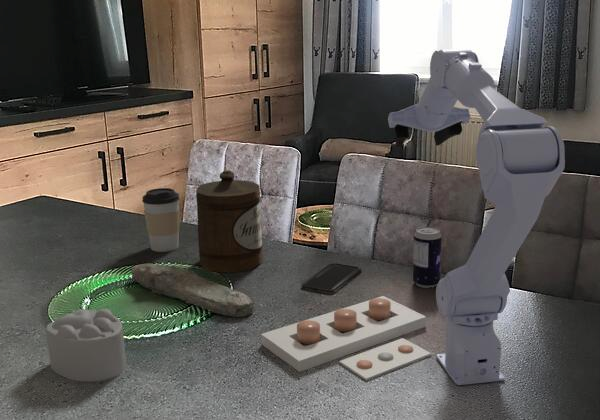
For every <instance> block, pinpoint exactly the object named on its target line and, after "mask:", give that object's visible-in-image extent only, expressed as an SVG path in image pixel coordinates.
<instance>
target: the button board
mask: <svg viewBox="0 0 600 420" xmlns="http://www.w3.org/2000/svg"><path fill="white" fill-rule="evenodd" d="M376 298H382V299H387V300H389V301H390V302H391V312H390V317H389V318H388V319H384V320H380V321H377V320H376V319H373V318H371V317H369V301H370V300H371V299H369V300H365V301H362V302H360V303H356V304H354V305H353V304H352V305H349V306H347V307H346V306H345V307H344V308H342V309H350V310H353V311H355V312H356V314H357V327H356V329H354V330H352V331H346V332H344V333H342V332H341V331H339V330H337V329H335V328H334V312H335V311H337V310H338V309H336V310H333V311H330V312H328V313H324V314H322V315H318V316H314V317H311V318H308V319H305V320H301V321H299V322H302V321H307V320H311V321H316V322H318V323H319V324H320V340H319V341H318V342H316V343H313V344H308V345H306V346H305V345H303V344H302V343H300V342H299V341H298V340H297V324H298V323H299V322H295V323H292V324H289V325H285V326H283V327H279V328H276V329H273V330H269V331H267V332H263V333H261V334H260V335H261V336H260V339H261V345H262V346H263V347H265V348H266V349H267V350H268V351H270V352H272V353H273V354H274V355H275V356H276V357H278V358H279V359H281V360H282V361H283V362H285V363H287V364H288V365H289V366H290V367H292V368H293V369H294V370H296V371H297V372H299V373H301V372H303V371H306V370H309V369H312V368H315V367H318V366H321V365H323V364H326V363H329V362H331V361H334V360H337V359H339V358H342V357H346V356H348V355H351V354H354V353H356V352H359V351H362V350H365V349H367V348H370V347H373V346H375V345H378V344H381V343H384V342H387V341H390V340H392V339H395V338H396V339H397V338H398V337H400V336H404V335H406V334H409V333H413V332H415V331H417V330H421V329H423V328H425V327H426V325H427V316H426V315H423V314H421V313H419V312H417V311H415V310H413V309H412V308H409V307H407V306H405V305H403V304H400V303H399V302H397V301H394V300H393V299H391V298H389V297H387V296H384V295H381V296H378V297H375V298H374V299H376Z"/></svg>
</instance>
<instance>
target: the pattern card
mask: <svg viewBox="0 0 600 420" xmlns="http://www.w3.org/2000/svg"><path fill="white" fill-rule="evenodd" d="M431 355H432V353H431V352H429V351H427V350H425V349H424V348H422V347H420V346H418V345H416V344H414V343H413V342H411V341H409V340H407V339H405V338H403V337H402V338H399V339H397V340H394V341H391V342H388V343H385V344H382V345H380V346H376V347H374V348H372V349H368V350H365V351H363V352H361V353H360V352H359V353H358V354H355V355H352V356H349V357H346V358H343V359H341V360H339V362H338V363H339V364H340V365H341V366H343V367H345V368H346V369H348V370H349V371H350V372H352V373H354V374H355V375H357V376H358V377H360V378H362V379H363V380H364V381H366V382H367V381H369V380H372V379H375V378H377V377H379V376H383V375H385V374H388V373H390V372H393V371H395V370H397V369H400V368H403V367H405V366H407V365H410V364H412V363H416V362H418V361H421V360H423V359H425V358H428V357H431Z"/></svg>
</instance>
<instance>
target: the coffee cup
mask: <svg viewBox="0 0 600 420" xmlns="http://www.w3.org/2000/svg"><path fill="white" fill-rule="evenodd" d="M179 200H180V194H179V193H178V192H176V191H175V190H174V188H171V187H170V188H168V187H167V188H165V187H163V188H162V187H160V188H154V189H149V190H147V191H146V193H145V194H144V195H142V201H141V202H142V203H143V209H144V210H143V212H144V217H145V225H146V230H147V235H148V239H149V244H150V249H151V251H154V252H159V253H161V252H162V253H166V252H172V251H174V250H177V249H178V248H179V247H180V243H179V237H180V233H179V232H180V205H179V204H180V203H179Z"/></svg>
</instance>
